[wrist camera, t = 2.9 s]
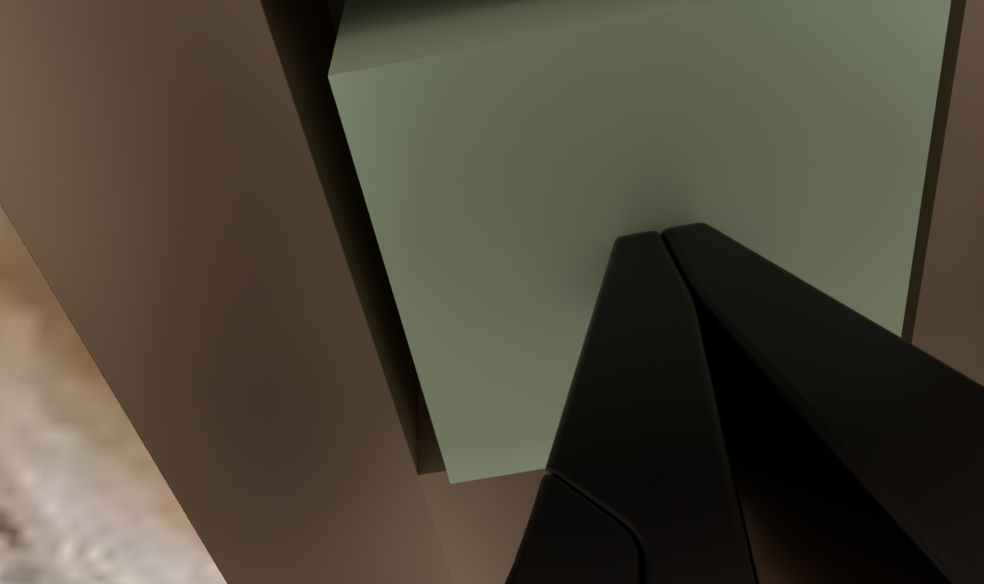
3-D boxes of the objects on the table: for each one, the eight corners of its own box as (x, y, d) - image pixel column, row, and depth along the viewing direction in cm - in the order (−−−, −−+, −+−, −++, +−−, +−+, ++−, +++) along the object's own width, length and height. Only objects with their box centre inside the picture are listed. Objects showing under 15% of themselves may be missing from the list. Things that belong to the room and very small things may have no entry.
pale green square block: (816, -124, 9) (957, -45, 7) (797, 260, 12) (889, 411, 10) (353, -33, 9) (327, 76, 7) (445, 322, 12) (450, 483, 10)
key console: (1117, -491, 9) (1517, -575, 6) (867, 771, 25) (932, 933, 22) (-12, -248, 9) (-239, -197, 6) (467, 829, 26) (473, 994, 23)
